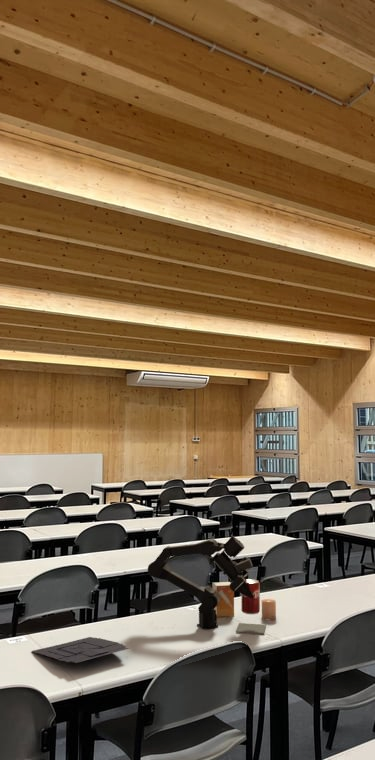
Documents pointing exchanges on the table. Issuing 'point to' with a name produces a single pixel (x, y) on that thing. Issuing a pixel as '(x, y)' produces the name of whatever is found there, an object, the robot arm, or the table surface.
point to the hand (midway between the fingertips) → (254, 595)
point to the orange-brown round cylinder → (268, 609)
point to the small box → (224, 599)
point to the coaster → (251, 628)
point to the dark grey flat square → (82, 649)
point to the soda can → (249, 603)
